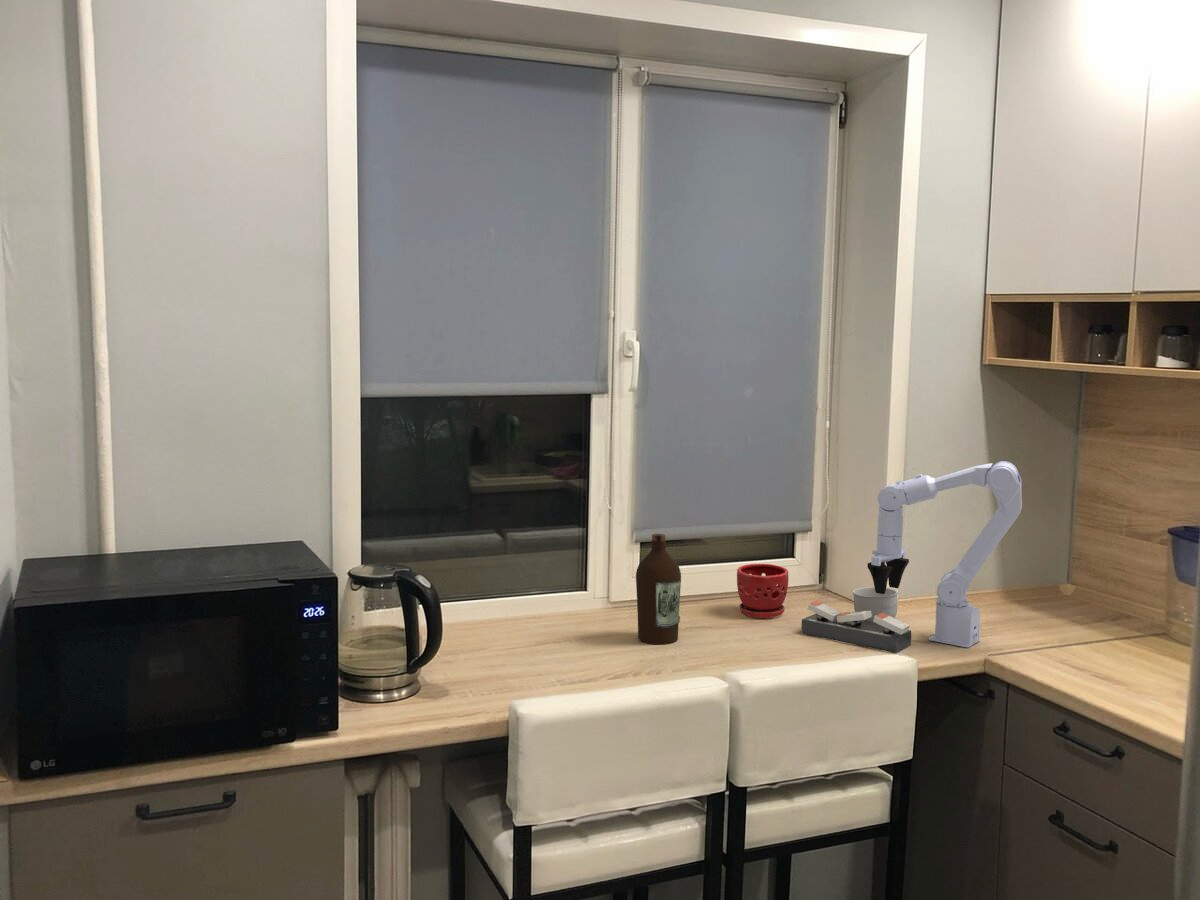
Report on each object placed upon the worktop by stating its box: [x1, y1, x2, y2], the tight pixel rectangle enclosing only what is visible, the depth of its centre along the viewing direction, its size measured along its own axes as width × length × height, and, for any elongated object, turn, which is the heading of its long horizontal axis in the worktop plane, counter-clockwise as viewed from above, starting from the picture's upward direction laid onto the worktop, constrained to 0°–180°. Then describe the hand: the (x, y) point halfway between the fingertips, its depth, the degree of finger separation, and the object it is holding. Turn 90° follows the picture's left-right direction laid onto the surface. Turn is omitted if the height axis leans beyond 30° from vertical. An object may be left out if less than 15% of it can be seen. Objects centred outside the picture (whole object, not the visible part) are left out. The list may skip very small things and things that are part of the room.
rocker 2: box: [837, 611, 872, 622], centre depth 239 cm, size 7×4×2 cm, turn 49°
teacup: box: [852, 586, 899, 624], centre depth 255 cm, size 14×11×8 cm
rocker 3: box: [873, 613, 910, 635], centre depth 233 cm, size 7×4×2 cm, turn 50°
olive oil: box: [635, 533, 682, 645], centre depth 238 cm, size 11×11×25 cm
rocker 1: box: [807, 600, 843, 621], centre depth 244 cm, size 7×4×2 cm, turn 50°
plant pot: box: [736, 563, 789, 619], centre depth 260 cm, size 13×13×12 cm
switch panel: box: [801, 613, 912, 654], centre depth 239 cm, size 24×8×5 cm, turn 49°
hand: (887, 590), depth 243 cm, fingers open, 7 cm apart
